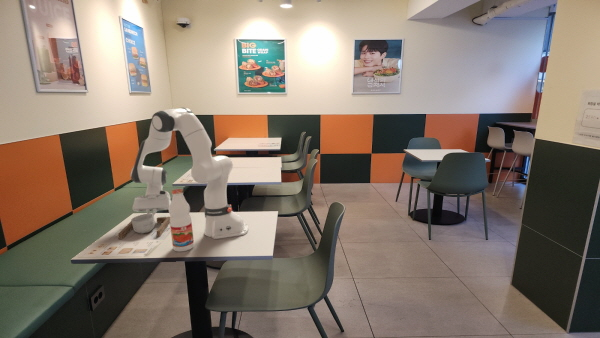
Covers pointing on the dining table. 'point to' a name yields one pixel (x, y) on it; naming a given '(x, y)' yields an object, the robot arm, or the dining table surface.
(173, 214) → the fruit juice
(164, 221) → the wooden l-brackets
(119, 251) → the dining table surface
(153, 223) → the teacup
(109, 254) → the dining table surface
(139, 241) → the dining table surface
